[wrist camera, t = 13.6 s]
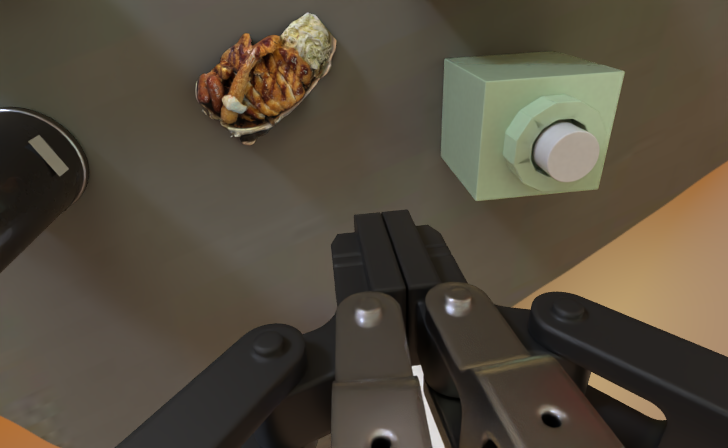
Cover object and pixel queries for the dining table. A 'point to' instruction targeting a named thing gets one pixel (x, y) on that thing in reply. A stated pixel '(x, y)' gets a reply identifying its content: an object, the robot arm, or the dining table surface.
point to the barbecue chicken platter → (266, 78)
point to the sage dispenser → (521, 118)
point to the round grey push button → (566, 151)
